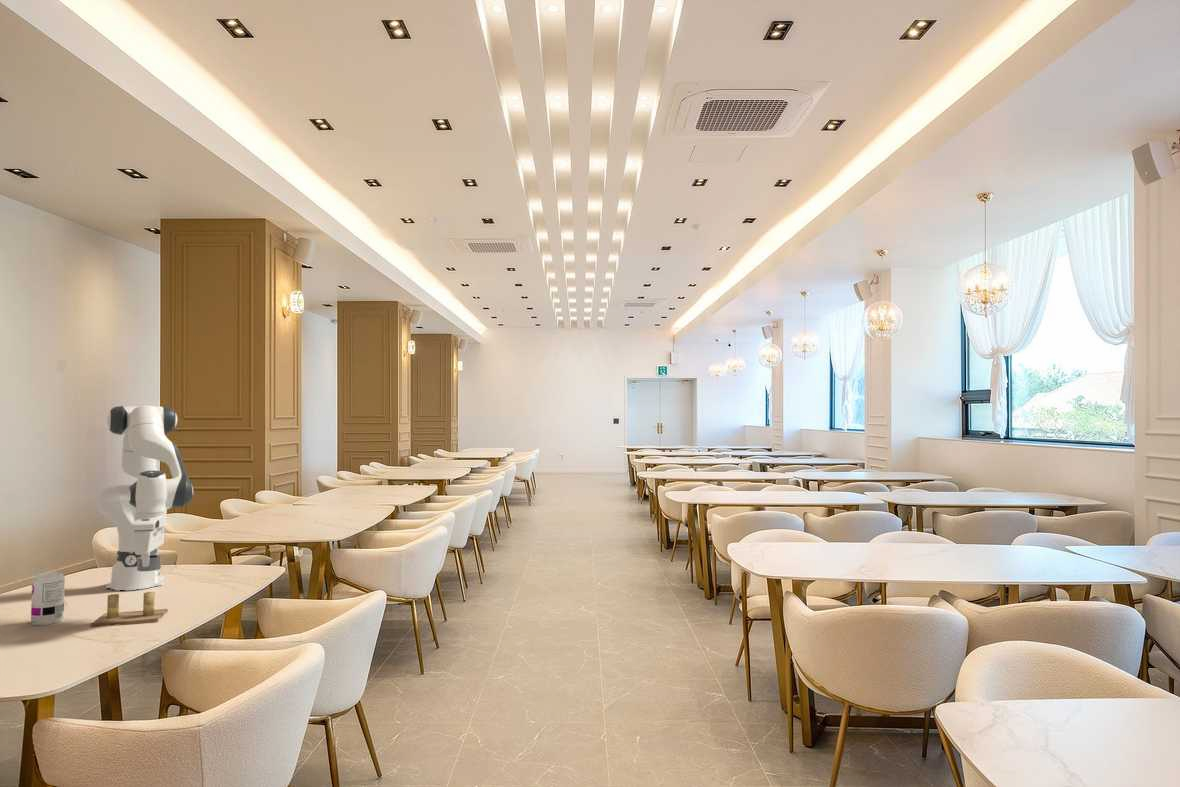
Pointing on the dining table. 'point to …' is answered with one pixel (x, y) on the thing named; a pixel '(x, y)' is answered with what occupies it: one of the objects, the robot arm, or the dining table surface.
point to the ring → (154, 563)
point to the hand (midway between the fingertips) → (149, 564)
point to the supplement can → (47, 598)
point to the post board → (129, 617)
